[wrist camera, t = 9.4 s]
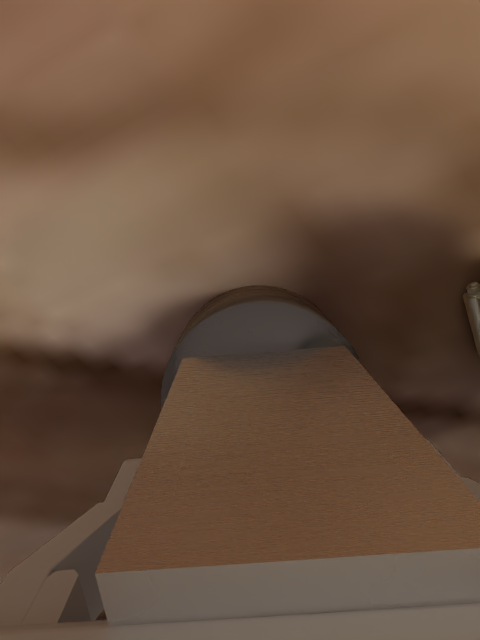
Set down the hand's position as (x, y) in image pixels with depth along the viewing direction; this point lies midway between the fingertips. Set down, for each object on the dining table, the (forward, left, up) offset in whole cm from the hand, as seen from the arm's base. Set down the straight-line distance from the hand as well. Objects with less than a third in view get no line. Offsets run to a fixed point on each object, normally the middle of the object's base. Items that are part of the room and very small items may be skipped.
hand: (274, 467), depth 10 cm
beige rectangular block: (0, 0, -2) cm, 2 cm away
